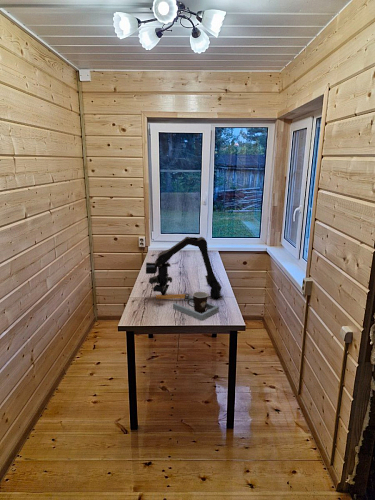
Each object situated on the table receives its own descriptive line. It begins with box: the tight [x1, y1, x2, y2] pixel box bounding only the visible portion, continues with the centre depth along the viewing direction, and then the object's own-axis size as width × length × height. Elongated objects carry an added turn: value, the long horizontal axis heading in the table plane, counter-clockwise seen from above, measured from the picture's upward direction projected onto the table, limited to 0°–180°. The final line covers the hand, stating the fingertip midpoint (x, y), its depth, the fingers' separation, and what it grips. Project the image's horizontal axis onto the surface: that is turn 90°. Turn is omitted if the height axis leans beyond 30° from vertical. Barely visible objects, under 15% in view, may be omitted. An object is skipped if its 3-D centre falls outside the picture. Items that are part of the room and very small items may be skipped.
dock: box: [172, 295, 220, 321], centre depth 186 cm, size 16×26×3 cm, turn 47°
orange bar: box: [155, 293, 190, 300], centre depth 197 cm, size 20×3×2 cm, turn 93°
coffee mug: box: [187, 291, 209, 314], centre depth 183 cm, size 12×9×10 cm
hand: (163, 296), depth 199 cm, fingers closed
